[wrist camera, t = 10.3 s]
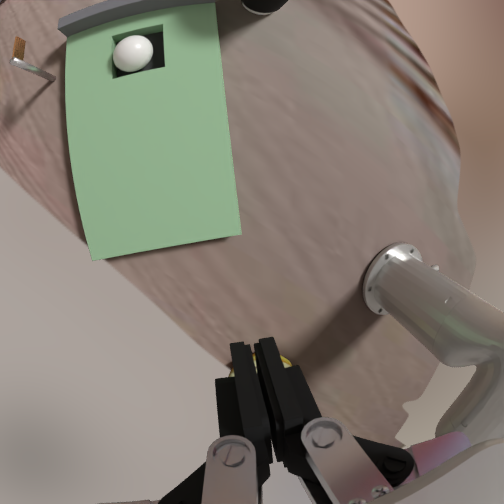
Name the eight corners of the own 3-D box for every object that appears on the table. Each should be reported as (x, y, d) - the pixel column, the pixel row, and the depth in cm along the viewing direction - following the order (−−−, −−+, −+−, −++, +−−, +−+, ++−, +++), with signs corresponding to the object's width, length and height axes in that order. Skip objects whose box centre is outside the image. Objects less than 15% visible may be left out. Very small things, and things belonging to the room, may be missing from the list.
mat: (212, 2, 22) (216, -20, 17) (238, 228, 33) (246, 242, 28) (74, 33, 20) (59, 18, 15) (98, 254, 31) (83, 271, 26)
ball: (159, 69, 24) (155, 44, 23) (147, 47, 19) (144, 22, 19) (122, 84, 24) (120, 58, 23) (106, 65, 19) (106, 38, 19)
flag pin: (56, 58, 20) (19, 34, 11) (55, 80, 22) (15, 62, 13) (51, 60, 20) (13, 38, 11) (51, 82, 22) (9, 65, 12)
